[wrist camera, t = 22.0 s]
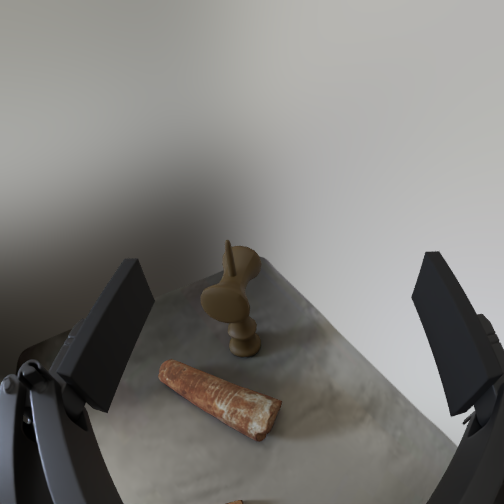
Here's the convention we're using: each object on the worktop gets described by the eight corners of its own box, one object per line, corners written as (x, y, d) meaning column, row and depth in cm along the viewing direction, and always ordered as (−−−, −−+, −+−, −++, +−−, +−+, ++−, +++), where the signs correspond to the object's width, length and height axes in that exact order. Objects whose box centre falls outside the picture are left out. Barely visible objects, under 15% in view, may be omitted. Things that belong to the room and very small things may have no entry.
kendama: (219, 367, 41) (187, 263, 29) (234, 322, 48) (215, 219, 37) (257, 373, 39) (242, 267, 28) (269, 326, 47) (260, 220, 36)
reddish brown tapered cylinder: (264, 449, 29) (261, 437, 26) (156, 384, 38) (143, 365, 35) (287, 412, 33) (288, 395, 30) (181, 358, 43) (171, 337, 39)
